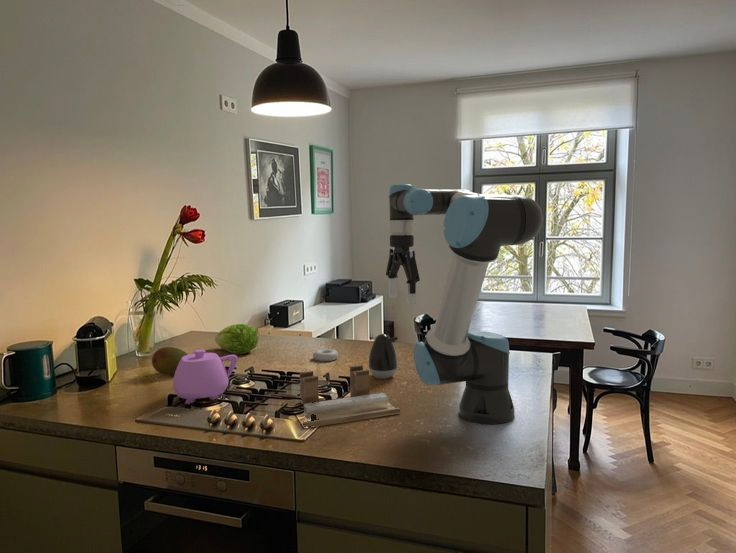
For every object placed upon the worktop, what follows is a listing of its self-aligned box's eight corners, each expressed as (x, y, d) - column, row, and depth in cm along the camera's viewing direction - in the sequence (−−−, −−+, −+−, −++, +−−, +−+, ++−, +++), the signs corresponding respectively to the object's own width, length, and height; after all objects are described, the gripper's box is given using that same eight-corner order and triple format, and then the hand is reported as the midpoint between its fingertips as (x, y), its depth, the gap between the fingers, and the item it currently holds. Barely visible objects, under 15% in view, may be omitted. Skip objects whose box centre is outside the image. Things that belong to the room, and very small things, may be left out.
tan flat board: (400, 413, 149) (400, 408, 149) (303, 428, 139) (303, 423, 139) (383, 399, 160) (383, 395, 160) (293, 413, 150) (293, 408, 150)
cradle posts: (369, 399, 160) (369, 370, 159) (305, 409, 153) (304, 378, 152) (362, 393, 166) (361, 365, 165) (300, 402, 159) (299, 372, 158)
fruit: (148, 374, 190) (146, 347, 189) (181, 366, 199) (180, 341, 198) (162, 380, 182) (160, 352, 181) (196, 372, 191) (194, 346, 190)
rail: (387, 408, 152) (387, 396, 152) (307, 420, 144) (306, 408, 143) (383, 404, 155) (383, 392, 155) (303, 415, 147) (303, 403, 146)
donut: (334, 355, 215) (310, 357, 211) (334, 347, 214) (310, 348, 211) (341, 361, 205) (316, 363, 202) (341, 352, 205) (316, 354, 201)
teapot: (234, 381, 180) (232, 338, 179) (242, 400, 162) (240, 352, 160) (173, 389, 173) (170, 344, 171) (174, 409, 155) (171, 359, 153)
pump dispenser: (396, 381, 178) (395, 337, 176) (365, 380, 180) (365, 336, 178) (400, 373, 188) (400, 331, 186) (371, 371, 190) (371, 330, 188)
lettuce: (232, 331, 235) (209, 319, 225) (267, 330, 222) (244, 318, 213) (223, 358, 230) (199, 347, 220) (258, 359, 217) (234, 348, 207)
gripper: (430, 234, 155) (430, 305, 157) (396, 233, 178) (396, 294, 181) (407, 235, 152) (408, 307, 155) (375, 233, 176) (376, 296, 178)
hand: (402, 300), depth 168 cm, fingers open, 13 cm apart
